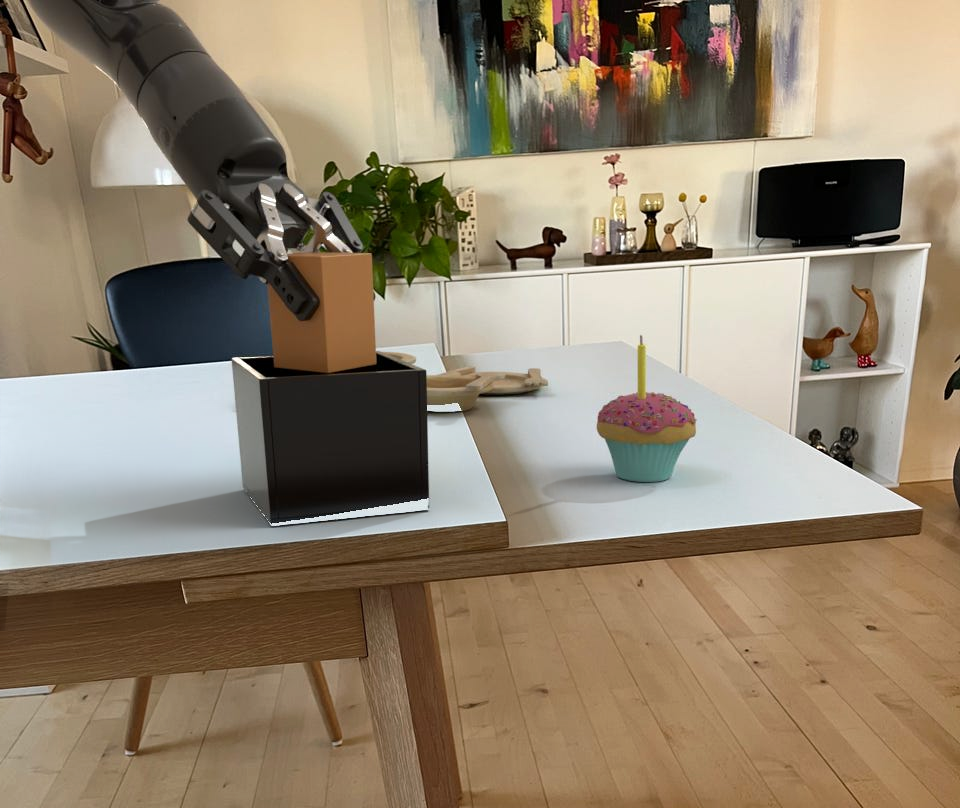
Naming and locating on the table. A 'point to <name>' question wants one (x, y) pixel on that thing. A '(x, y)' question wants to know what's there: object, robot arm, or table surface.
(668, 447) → the cupcake
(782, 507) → the table surface
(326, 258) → the tan cardboard block
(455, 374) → the tableware set
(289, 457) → the trash can
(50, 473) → the table surface
